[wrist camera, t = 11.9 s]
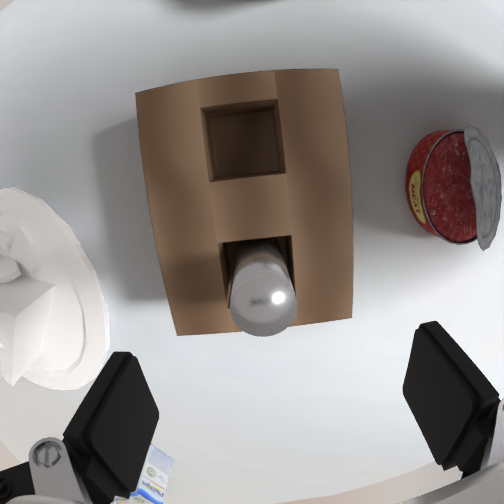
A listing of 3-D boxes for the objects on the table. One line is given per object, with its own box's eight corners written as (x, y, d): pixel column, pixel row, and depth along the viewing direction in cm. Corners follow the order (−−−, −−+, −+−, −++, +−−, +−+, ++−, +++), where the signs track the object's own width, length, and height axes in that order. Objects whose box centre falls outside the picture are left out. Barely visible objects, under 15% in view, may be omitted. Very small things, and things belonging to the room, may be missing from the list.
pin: (278, 228, 22) (295, 273, 14) (281, 269, 23) (298, 332, 15) (235, 233, 22) (225, 280, 14) (240, 273, 23) (234, 339, 15)
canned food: (398, 137, 26) (450, 77, 16) (470, 178, 26) (530, 139, 16) (381, 240, 24) (455, 202, 14) (463, 277, 24) (541, 259, 14)
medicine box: (139, 467, 35) (126, 510, 26) (117, 451, 34) (101, 495, 25) (173, 458, 33) (163, 507, 25) (150, 442, 32) (135, 492, 24)
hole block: (317, 89, 20) (337, 68, 15) (331, 283, 25) (351, 317, 20) (162, 107, 21) (135, 92, 15) (191, 297, 26) (177, 335, 20)
